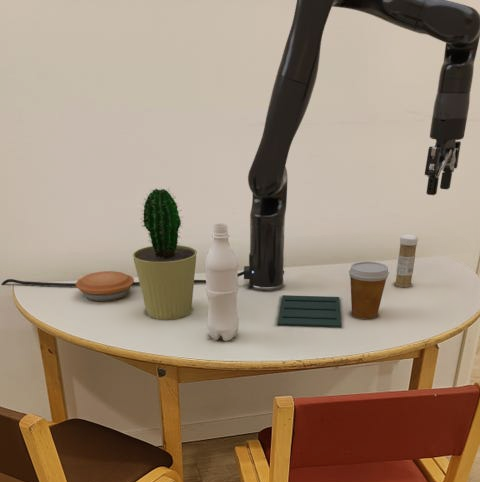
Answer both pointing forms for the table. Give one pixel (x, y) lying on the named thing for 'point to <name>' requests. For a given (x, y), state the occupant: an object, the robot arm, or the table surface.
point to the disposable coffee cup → (367, 288)
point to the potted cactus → (165, 260)
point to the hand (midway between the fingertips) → (438, 191)
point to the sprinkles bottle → (406, 260)
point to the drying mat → (310, 311)
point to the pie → (105, 285)
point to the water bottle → (222, 286)
